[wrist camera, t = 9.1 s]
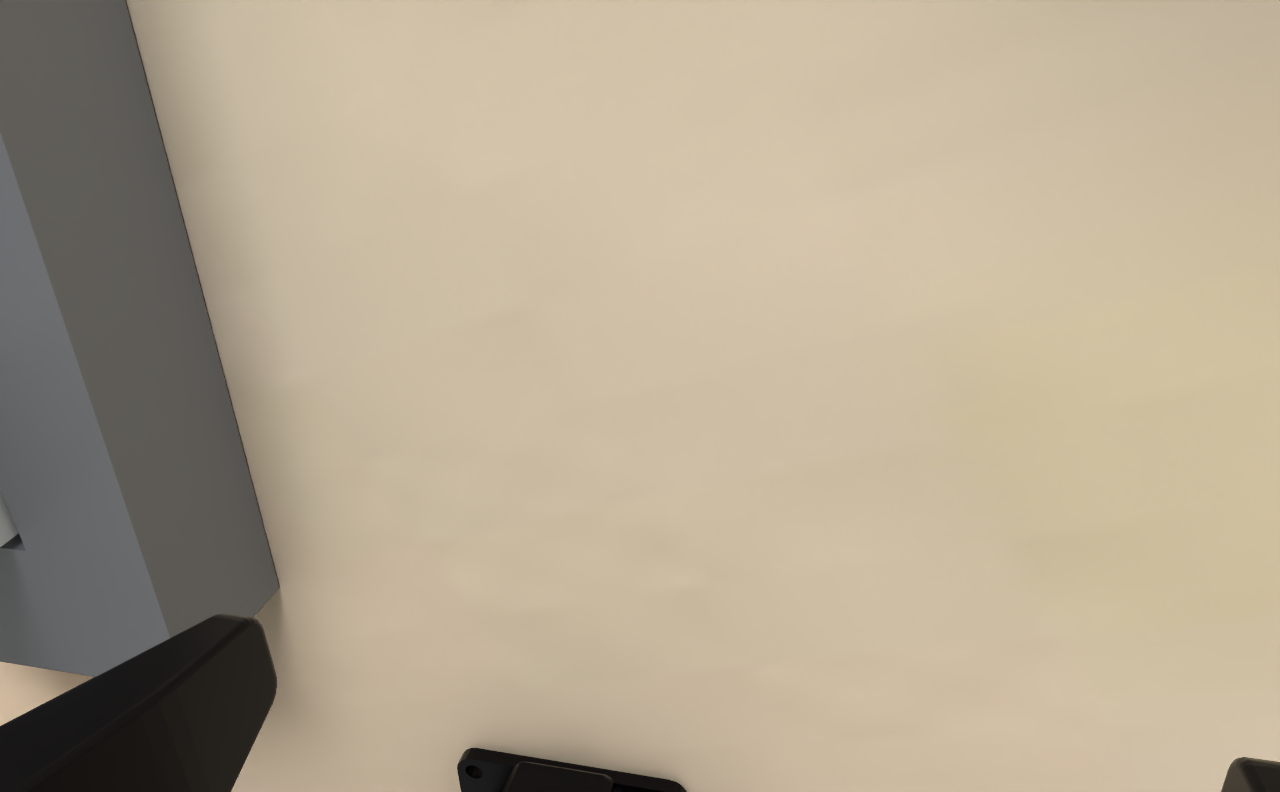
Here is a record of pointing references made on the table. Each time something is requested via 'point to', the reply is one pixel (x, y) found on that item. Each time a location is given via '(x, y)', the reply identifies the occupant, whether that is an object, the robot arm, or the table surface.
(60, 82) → the block
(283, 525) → the table surface
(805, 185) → the table surface
